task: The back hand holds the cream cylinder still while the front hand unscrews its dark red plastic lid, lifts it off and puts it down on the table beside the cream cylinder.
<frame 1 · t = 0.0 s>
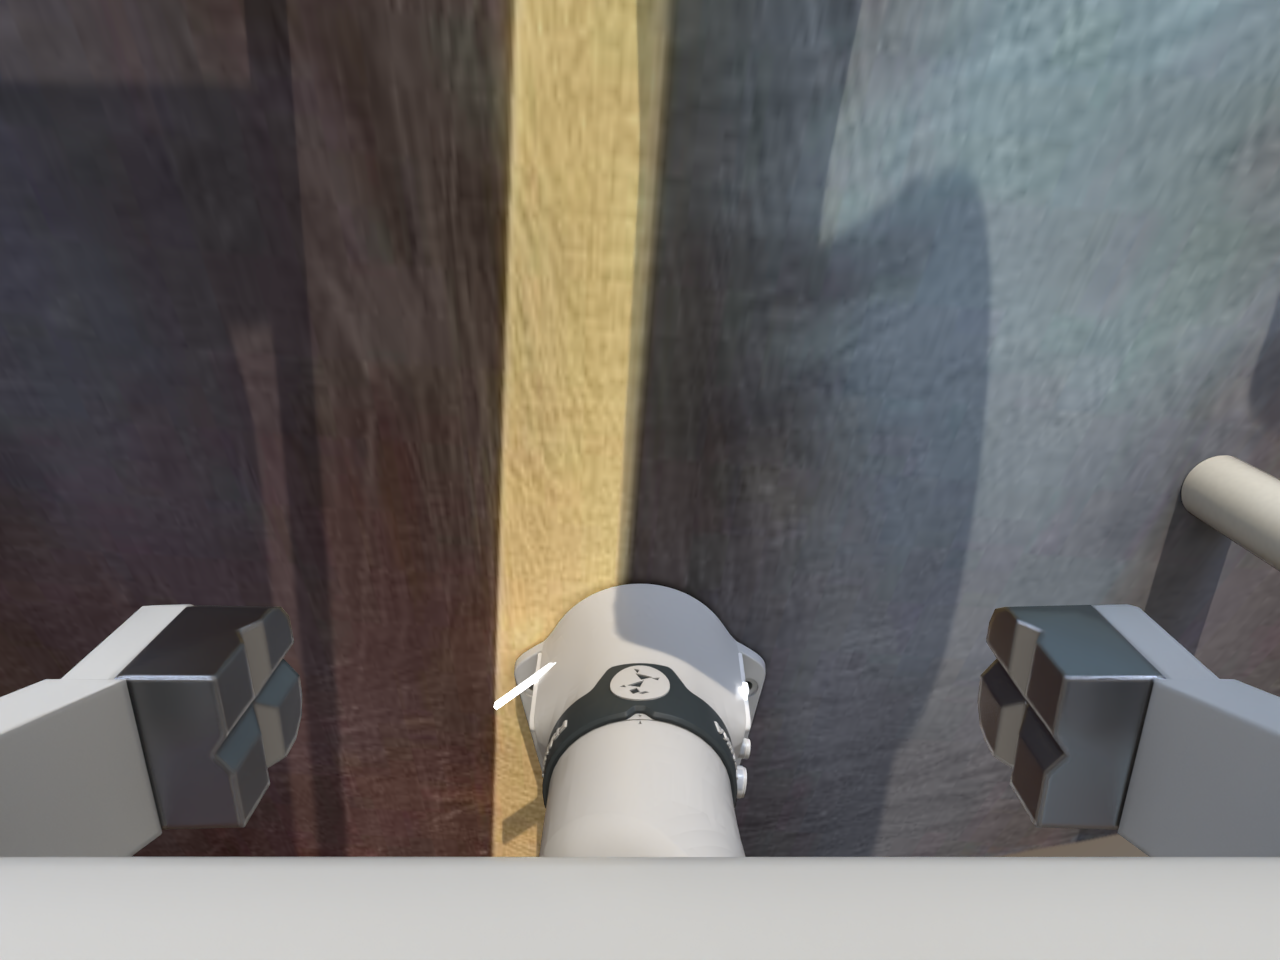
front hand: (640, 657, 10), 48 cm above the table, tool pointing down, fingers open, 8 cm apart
cream cylinder: (1215, 487, 61), on the table
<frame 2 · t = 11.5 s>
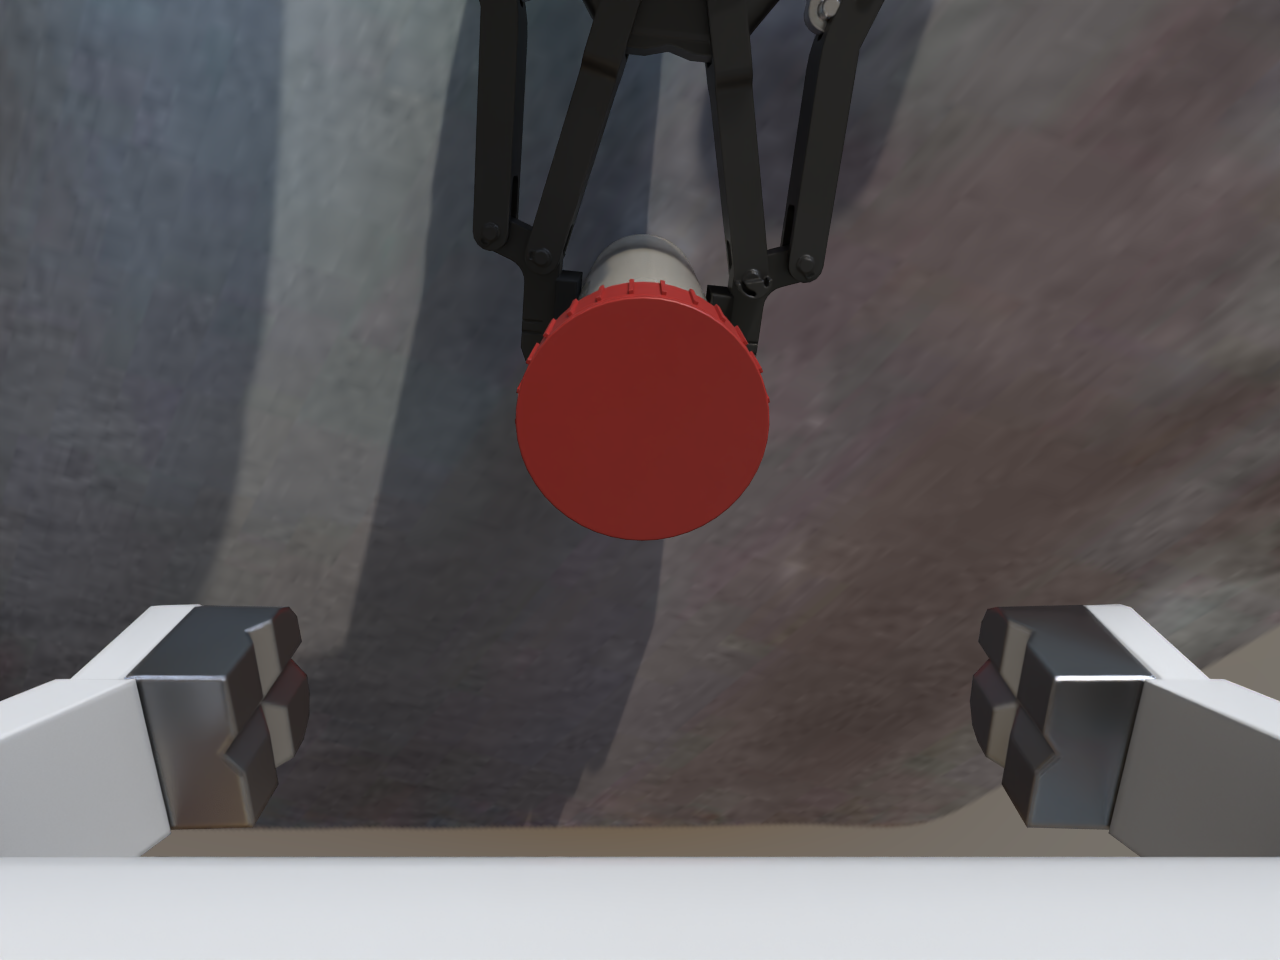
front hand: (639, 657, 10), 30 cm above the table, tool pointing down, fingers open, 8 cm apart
cream cylinder: (641, 290, 38), on the table, touching back hand
lid: (642, 420, 19), point 20 cm above the table, screwed on, not yet turned
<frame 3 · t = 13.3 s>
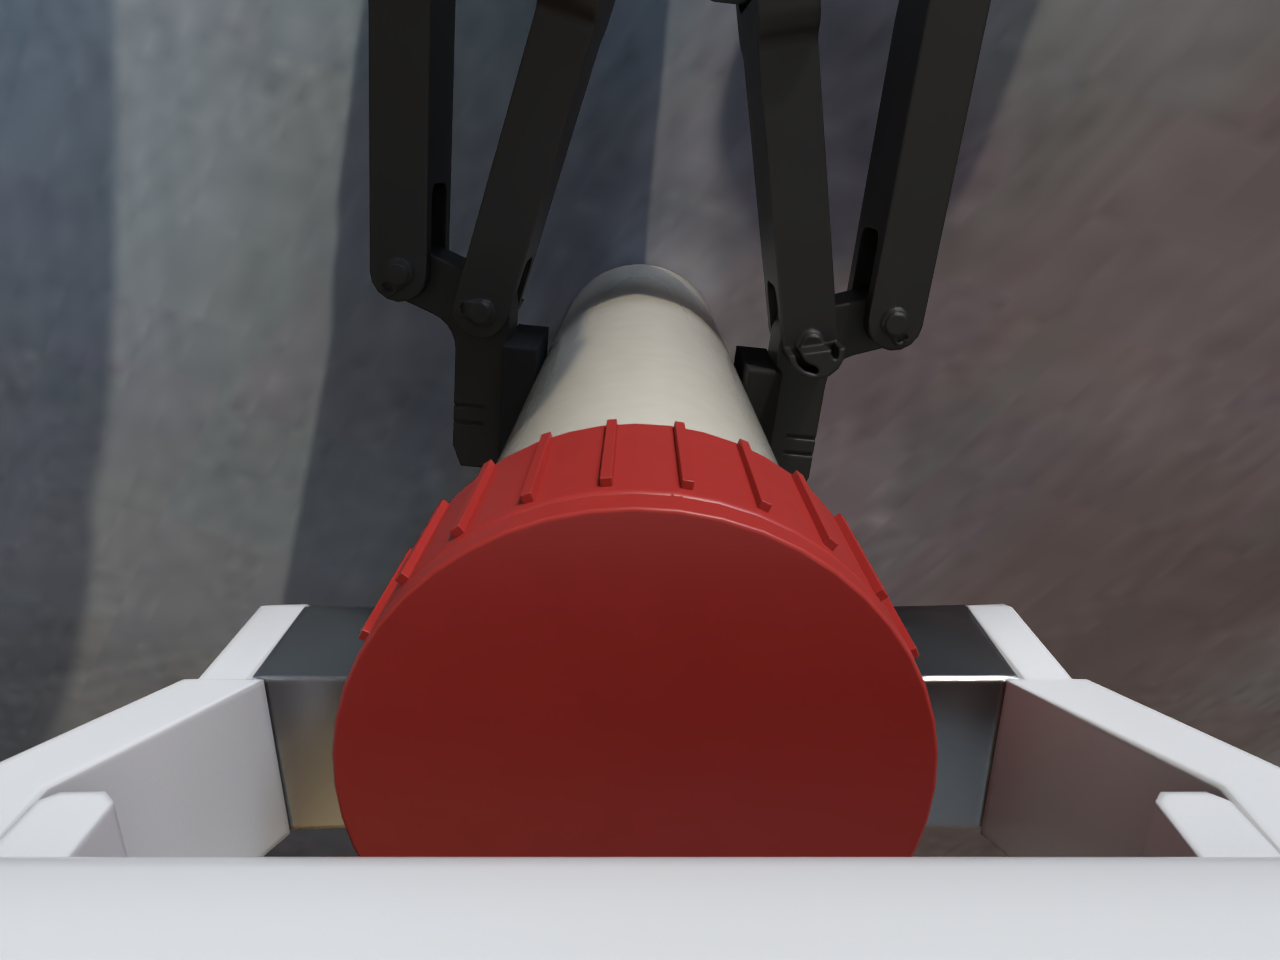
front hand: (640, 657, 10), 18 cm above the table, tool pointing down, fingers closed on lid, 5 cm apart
cream cylinder: (638, 342, 27), on the table, touching back hand
lid: (635, 762, 8), point 20 cm above the table, screwed on, not yet turned, touching front hand
when the front hand's fingers open (18 cm above the table, at t = 14.6 s): lid stays where it is, point 20 cm above the table.
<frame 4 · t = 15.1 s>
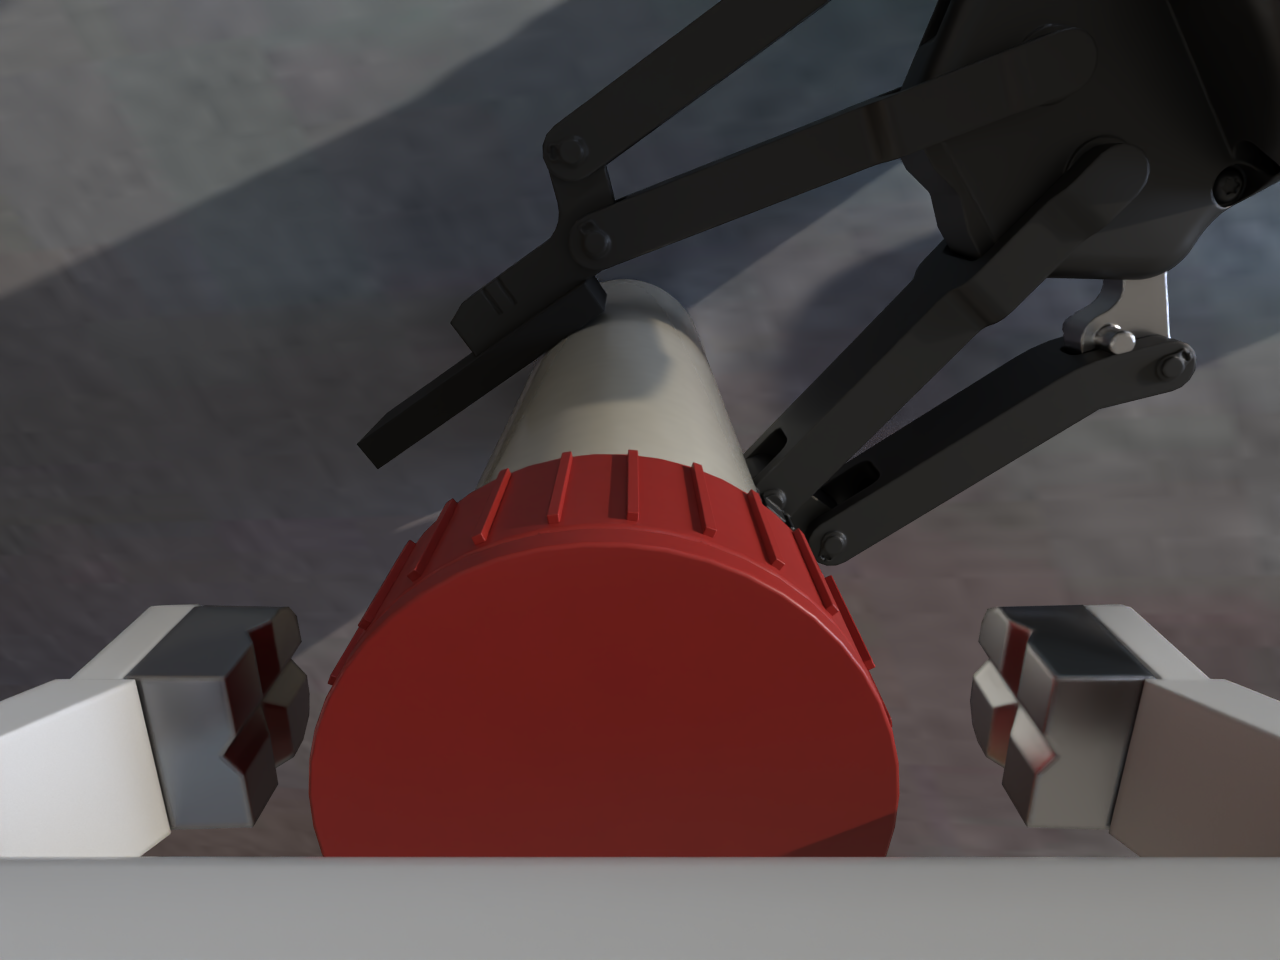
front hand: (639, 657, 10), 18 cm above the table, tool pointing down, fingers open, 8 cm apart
back hand: (453, 522, 22), fingers closed on cream cylinder, 5 cm apart
cream cylinder: (624, 355, 27), on the table, touching back hand
lid: (606, 787, 8), point 20 cm above the table, turned 68° so far, risen 0.2 cm, still on its thread
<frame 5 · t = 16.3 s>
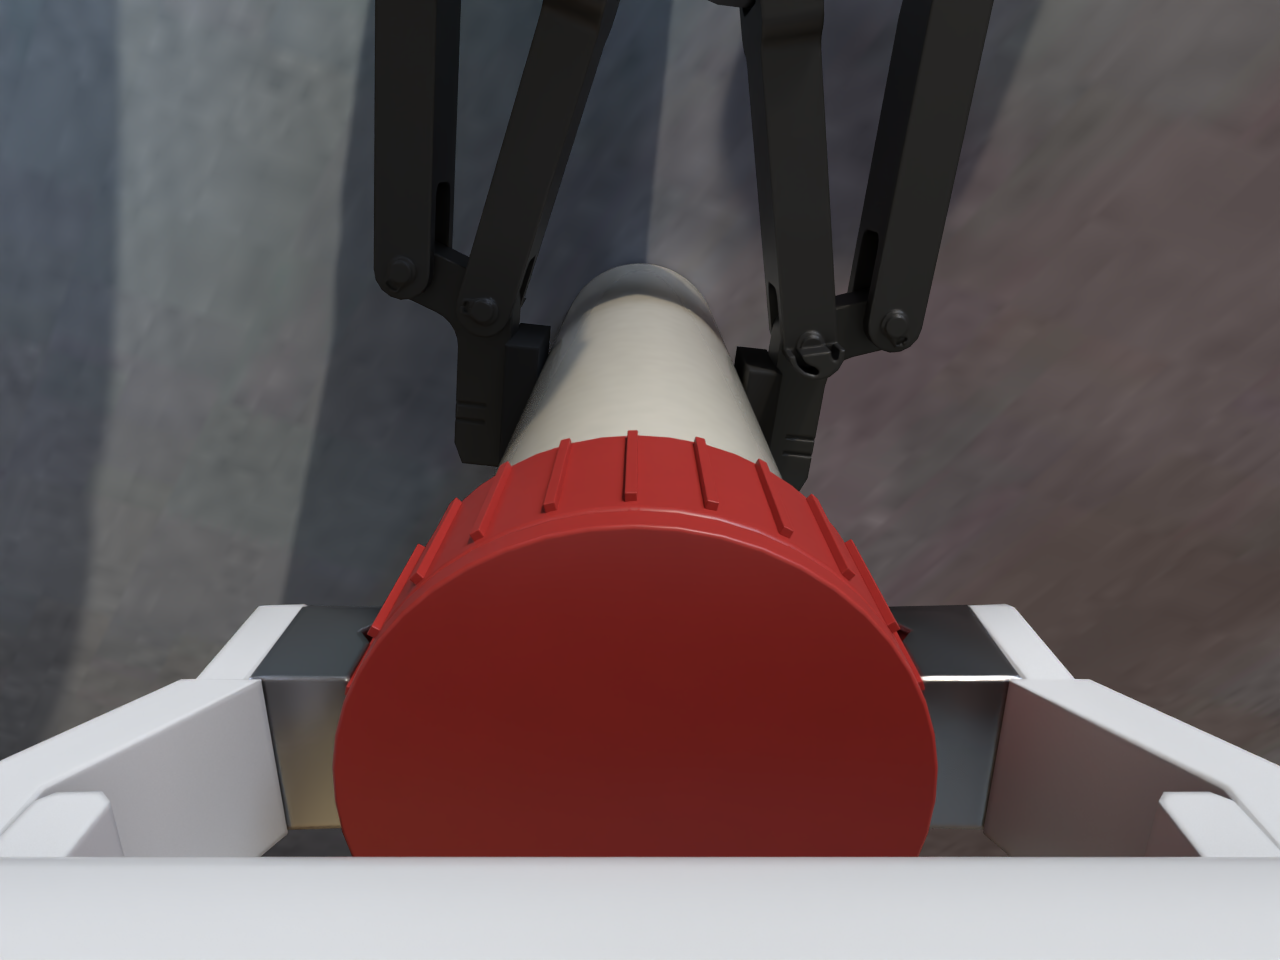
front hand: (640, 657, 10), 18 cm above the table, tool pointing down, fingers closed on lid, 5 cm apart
cream cylinder: (639, 341, 27), on the table, touching back hand
lid: (635, 776, 8), point 20 cm above the table, turned 68° so far, risen 0.2 cm, still on its thread, touching front hand
when the front hand's fingers open (2 cm above the table, at t = 23.6 s): lid drops 2 cm, point 2 cm above the table.
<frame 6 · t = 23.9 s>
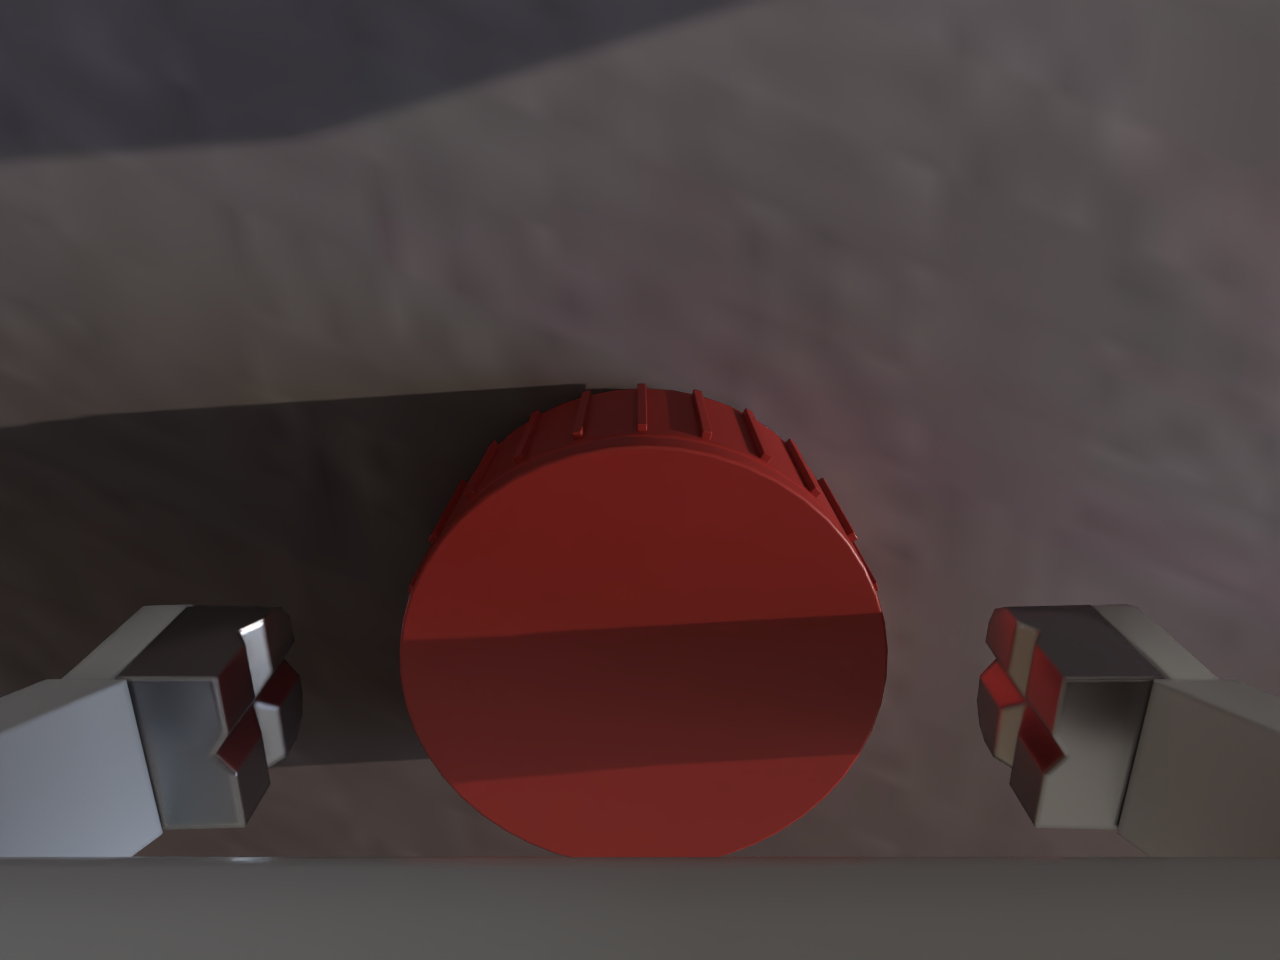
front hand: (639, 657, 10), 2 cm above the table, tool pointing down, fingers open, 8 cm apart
lid: (643, 661, 10), point 2 cm above the table, off its thread
when the back hand's fingers open (6 cm above the table, at t = 24.5 s): cream cylinder stays where it is, on the table.
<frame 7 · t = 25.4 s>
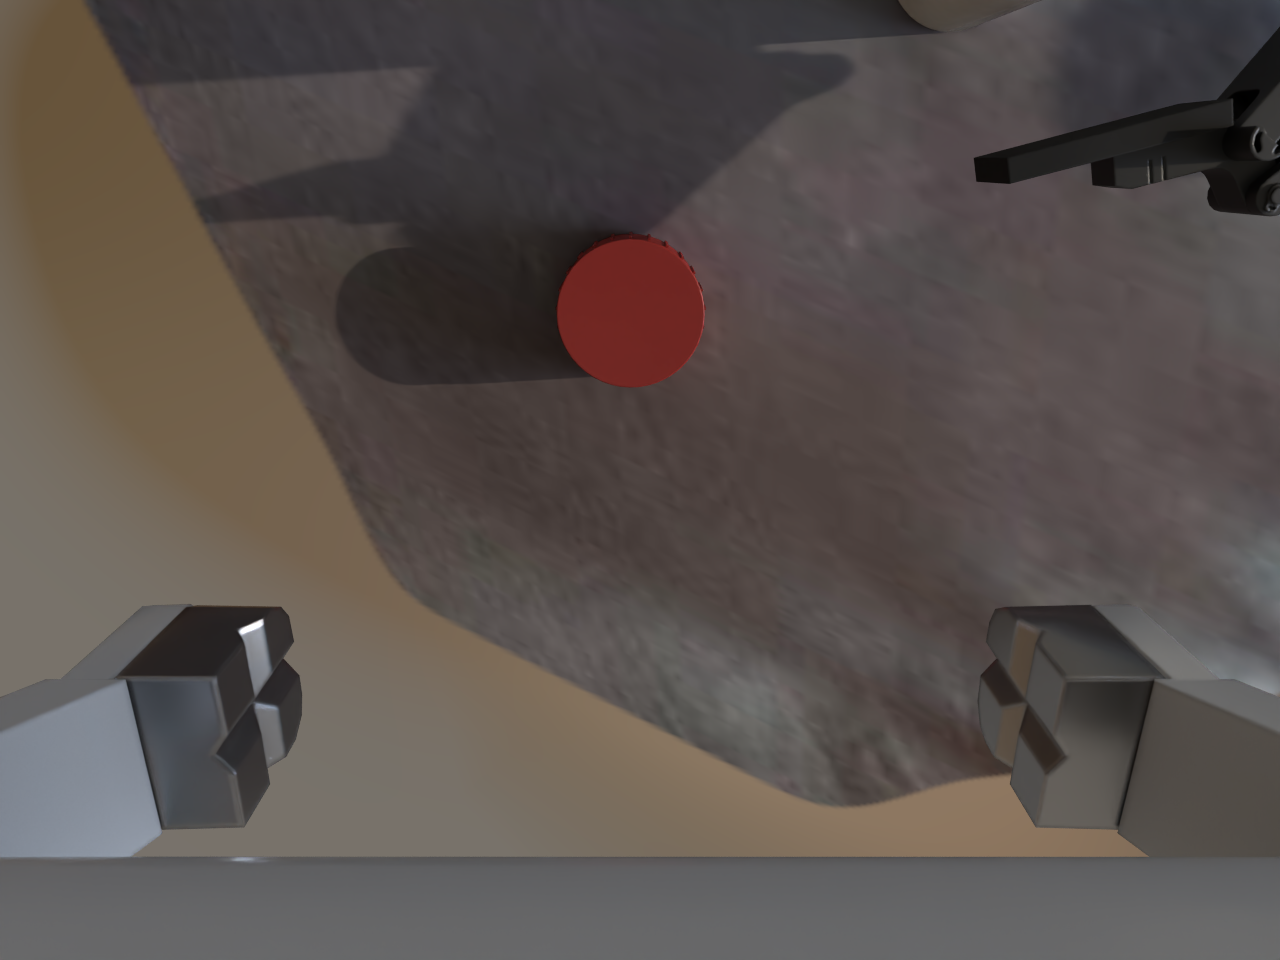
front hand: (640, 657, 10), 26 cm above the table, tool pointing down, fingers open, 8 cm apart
lid: (630, 313, 33), point 2 cm above the table, off its thread
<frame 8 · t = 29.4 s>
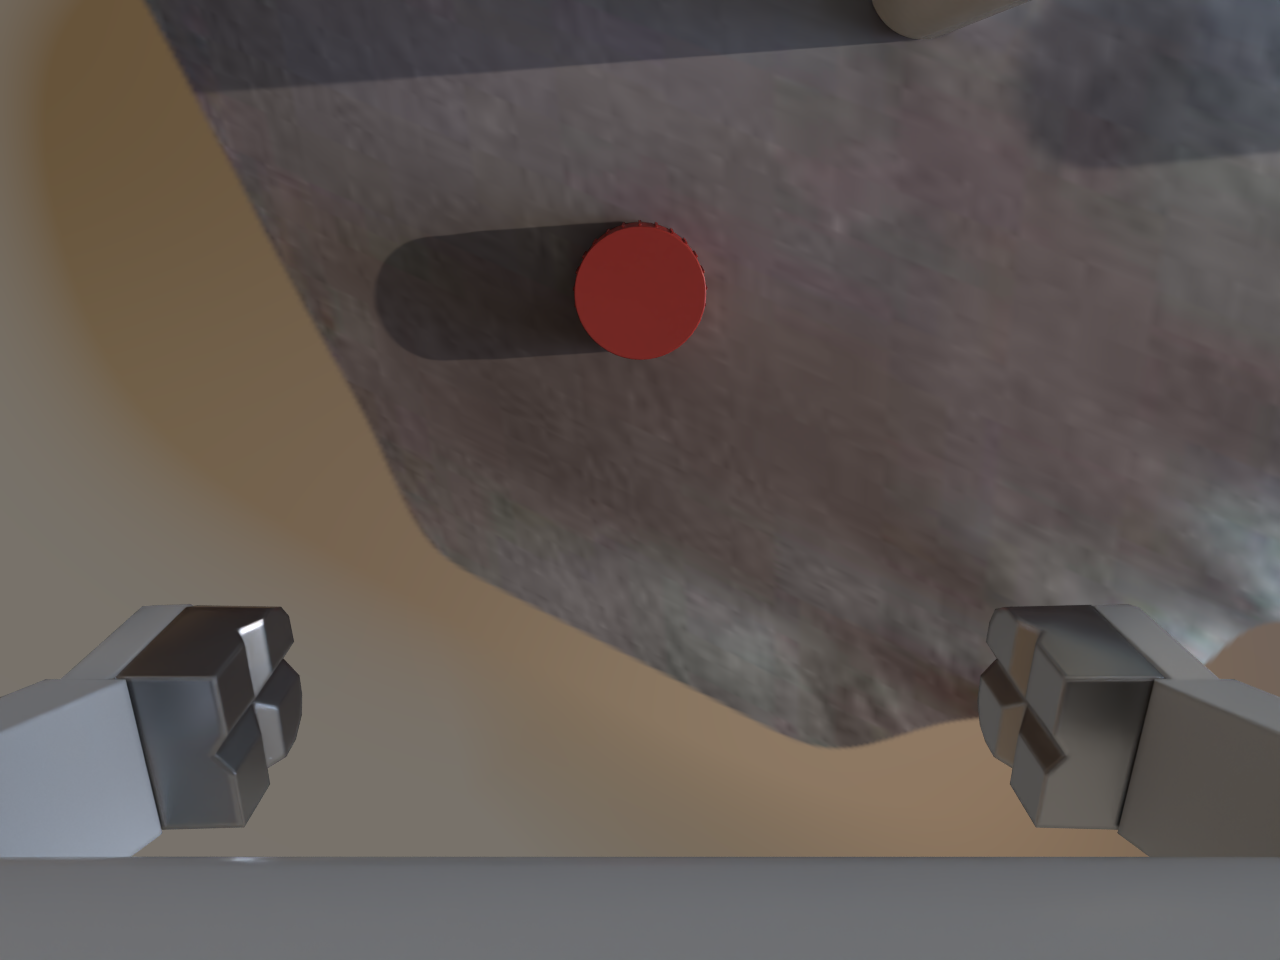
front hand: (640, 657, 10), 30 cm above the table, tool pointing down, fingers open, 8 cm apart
lid: (640, 293, 37), point 2 cm above the table, off its thread
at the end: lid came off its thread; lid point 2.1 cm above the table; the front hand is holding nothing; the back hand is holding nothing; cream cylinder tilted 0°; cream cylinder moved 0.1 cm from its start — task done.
